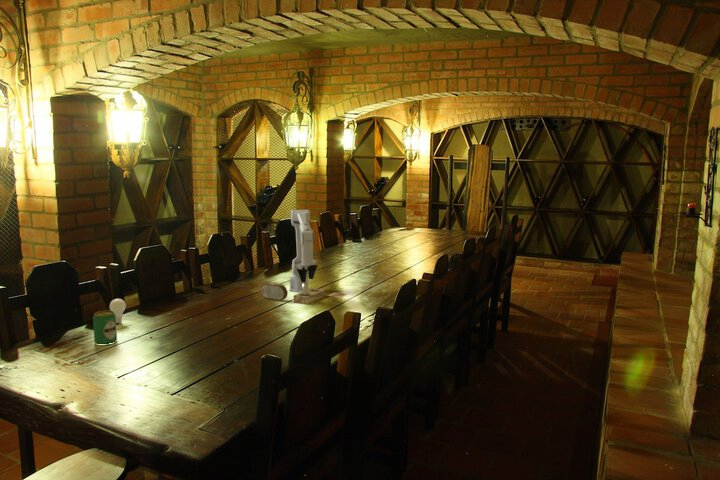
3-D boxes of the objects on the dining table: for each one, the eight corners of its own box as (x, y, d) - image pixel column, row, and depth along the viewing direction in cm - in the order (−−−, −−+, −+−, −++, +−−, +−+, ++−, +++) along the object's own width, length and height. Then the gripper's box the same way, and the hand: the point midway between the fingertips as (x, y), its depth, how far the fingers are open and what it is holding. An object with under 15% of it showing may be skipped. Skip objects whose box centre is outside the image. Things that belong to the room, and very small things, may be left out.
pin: (301, 302, 276) (301, 283, 274) (303, 300, 279) (303, 282, 277) (307, 302, 275) (307, 284, 274) (309, 301, 278) (309, 282, 277)
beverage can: (102, 347, 209) (100, 317, 207) (90, 343, 213) (88, 313, 212) (121, 341, 216) (119, 312, 214) (109, 337, 220) (107, 308, 218)
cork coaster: (326, 296, 288) (326, 295, 288) (334, 293, 295) (334, 292, 295) (340, 298, 284) (340, 297, 284) (347, 294, 291) (347, 294, 291)
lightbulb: (111, 326, 234) (109, 301, 232) (110, 322, 239) (108, 297, 238) (127, 324, 237) (125, 299, 235) (126, 320, 242) (124, 296, 240)
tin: (287, 300, 279) (287, 284, 277) (284, 302, 276) (284, 285, 275) (263, 296, 285) (263, 281, 284) (259, 298, 282) (259, 282, 281)
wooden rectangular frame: (293, 302, 275) (293, 295, 275) (311, 294, 291) (312, 287, 291) (307, 304, 272) (307, 297, 271) (325, 296, 288) (325, 289, 287)
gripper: (306, 257, 268) (306, 284, 270) (321, 252, 281) (321, 278, 283) (294, 256, 271) (294, 282, 273) (309, 251, 284) (309, 276, 286)
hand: (307, 280), depth 278 cm, fingers open, 7 cm apart
